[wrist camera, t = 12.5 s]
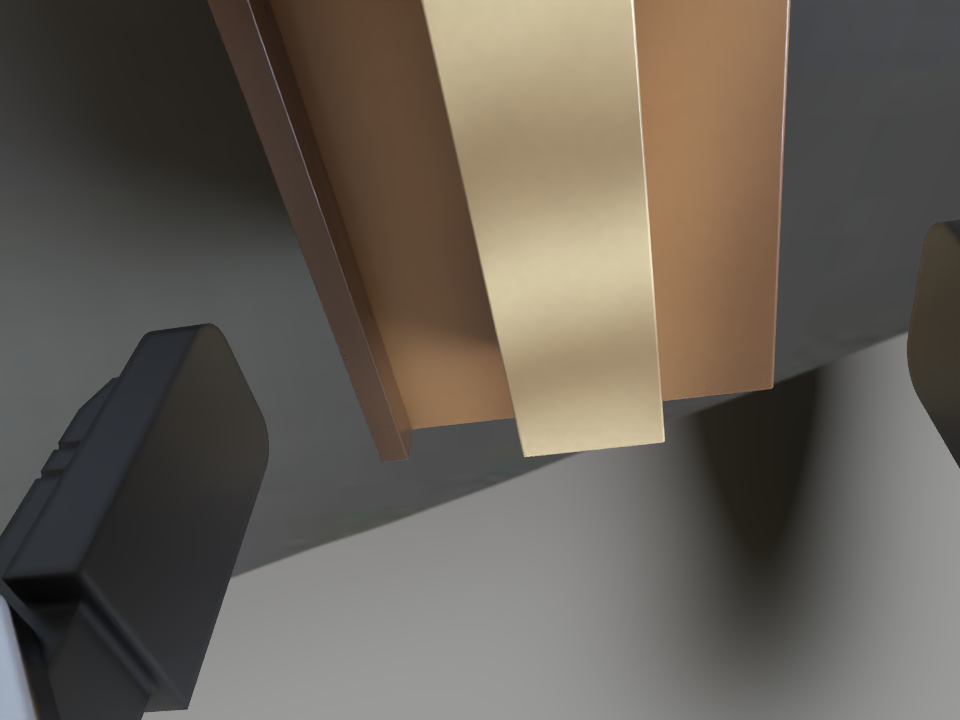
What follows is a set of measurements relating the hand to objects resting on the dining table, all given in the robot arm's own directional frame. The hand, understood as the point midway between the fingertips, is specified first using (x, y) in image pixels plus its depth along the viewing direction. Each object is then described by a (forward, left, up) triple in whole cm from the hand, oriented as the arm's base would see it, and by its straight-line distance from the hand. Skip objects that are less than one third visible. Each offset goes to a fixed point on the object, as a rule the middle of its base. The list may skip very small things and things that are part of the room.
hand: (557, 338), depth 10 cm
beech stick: (0, 0, -10) cm, 10 cm away
